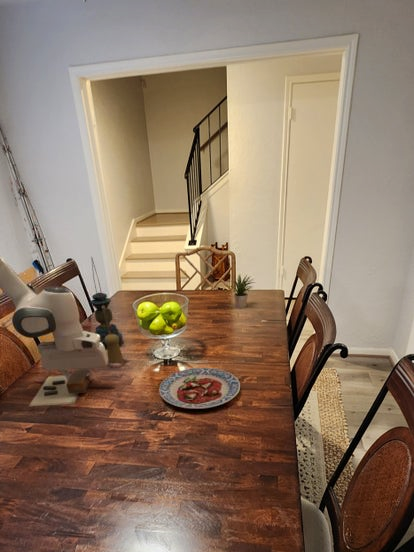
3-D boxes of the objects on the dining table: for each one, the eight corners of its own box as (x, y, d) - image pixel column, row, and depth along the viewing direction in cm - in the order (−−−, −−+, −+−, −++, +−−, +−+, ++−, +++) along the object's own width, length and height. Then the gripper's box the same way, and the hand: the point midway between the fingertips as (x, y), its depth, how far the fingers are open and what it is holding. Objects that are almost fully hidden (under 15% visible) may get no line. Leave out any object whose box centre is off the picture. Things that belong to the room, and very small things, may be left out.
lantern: (127, 346, 153) (112, 257, 135) (98, 353, 149) (79, 262, 131) (118, 335, 164) (103, 252, 146) (91, 341, 160) (72, 256, 142)
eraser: (68, 393, 117) (66, 384, 115) (78, 376, 127) (75, 366, 125) (84, 392, 117) (82, 383, 115) (92, 375, 127) (90, 365, 125)
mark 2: (44, 396, 119) (43, 393, 118) (45, 394, 120) (44, 392, 119) (57, 394, 119) (56, 391, 119) (58, 392, 120) (57, 390, 120)
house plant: (246, 313, 183) (246, 279, 174) (222, 309, 189) (221, 276, 181) (258, 305, 193) (260, 272, 184) (235, 301, 199) (235, 270, 191)
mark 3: (52, 385, 125) (52, 383, 124) (53, 383, 126) (52, 381, 125) (65, 383, 125) (64, 381, 125) (65, 382, 126) (64, 379, 126)
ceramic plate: (249, 408, 110) (249, 399, 108) (162, 419, 107) (161, 410, 105) (230, 369, 131) (230, 362, 130) (157, 378, 128) (156, 370, 127)
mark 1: (43, 390, 122) (42, 387, 122) (45, 388, 123) (44, 385, 123) (54, 390, 122) (54, 387, 121) (56, 388, 123) (55, 386, 122)
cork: (116, 358, 144) (111, 331, 138) (127, 361, 141) (122, 334, 135) (104, 363, 140) (99, 336, 134) (115, 367, 137) (110, 339, 131)
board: (29, 409, 115) (28, 406, 114) (49, 378, 132) (48, 375, 131) (75, 406, 115) (74, 403, 114) (89, 376, 132) (88, 373, 131)
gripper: (32, 346, 111) (45, 386, 118) (100, 342, 111) (109, 382, 119) (39, 338, 116) (51, 377, 124) (104, 334, 117) (112, 373, 124)
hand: (80, 379), depth 121 cm, fingers closed on eraser, 5 cm apart
